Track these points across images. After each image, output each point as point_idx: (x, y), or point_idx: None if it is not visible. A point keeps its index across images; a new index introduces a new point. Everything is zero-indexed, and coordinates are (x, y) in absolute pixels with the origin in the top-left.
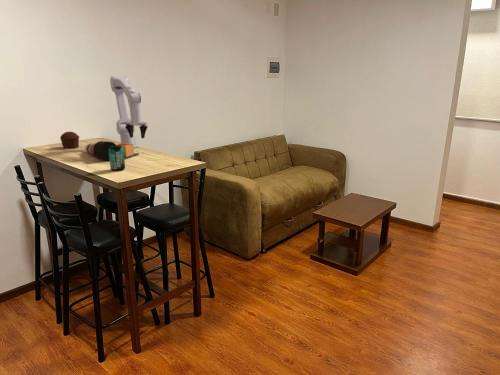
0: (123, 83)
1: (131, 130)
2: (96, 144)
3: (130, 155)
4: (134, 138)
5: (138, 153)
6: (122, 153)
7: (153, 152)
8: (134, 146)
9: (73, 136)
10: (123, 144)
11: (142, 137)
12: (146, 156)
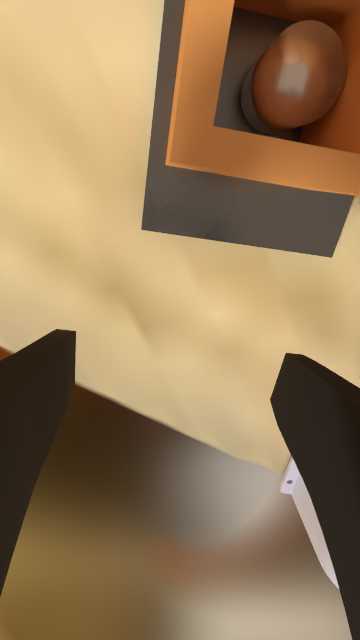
0: None
1: (343, 480)
2: None
3: (172, 63)
4: (322, 545)
5: (142, 225)
6: None
7: None
8: (297, 476)
9: None
10: (340, 153)
11: (48, 335)
12: (12, 152)
